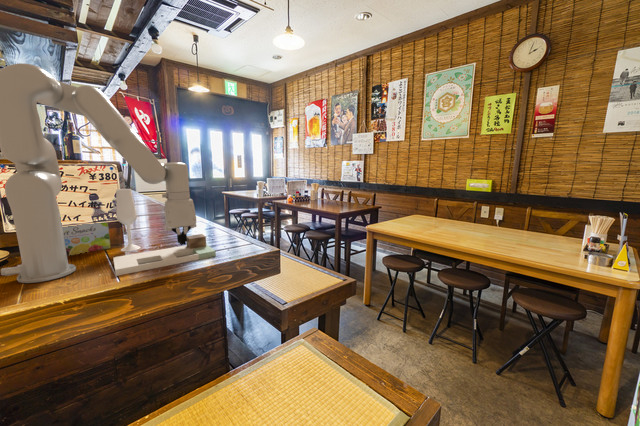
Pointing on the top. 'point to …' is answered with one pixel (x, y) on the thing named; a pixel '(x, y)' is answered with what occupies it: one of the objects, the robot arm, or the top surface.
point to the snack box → (86, 238)
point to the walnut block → (196, 241)
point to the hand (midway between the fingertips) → (182, 243)
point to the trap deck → (160, 258)
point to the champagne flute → (126, 214)
